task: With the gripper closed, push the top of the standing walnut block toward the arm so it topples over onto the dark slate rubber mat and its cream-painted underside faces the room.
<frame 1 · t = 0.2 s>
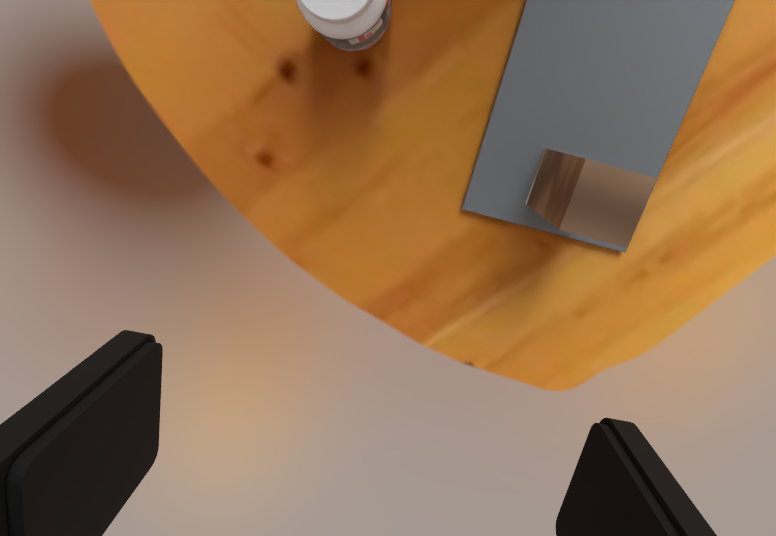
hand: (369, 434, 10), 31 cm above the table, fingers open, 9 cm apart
block: (562, 183, 38), point 1 cm above the table, touching mat
pill bottle: (353, 11, 36), on the table
mat: (593, 92, 37), on the table
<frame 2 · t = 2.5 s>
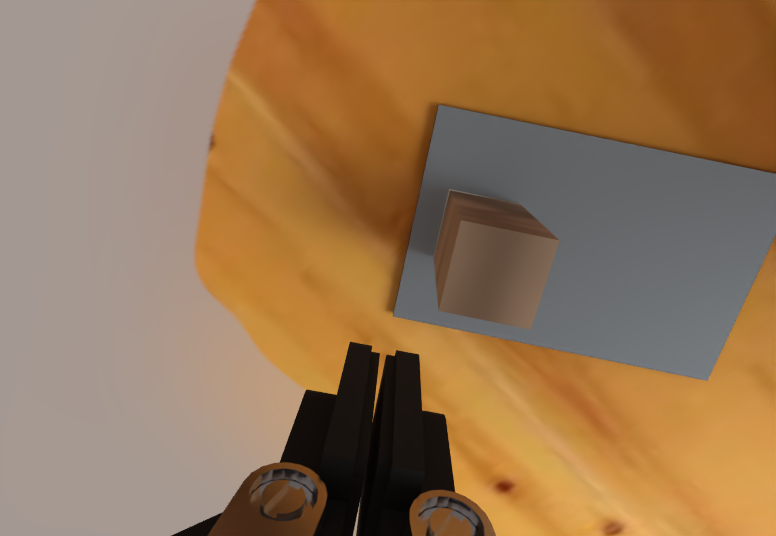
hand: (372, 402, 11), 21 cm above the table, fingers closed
block: (475, 230, 31), point 1 cm above the table, touching mat
mat: (579, 250, 31), on the table
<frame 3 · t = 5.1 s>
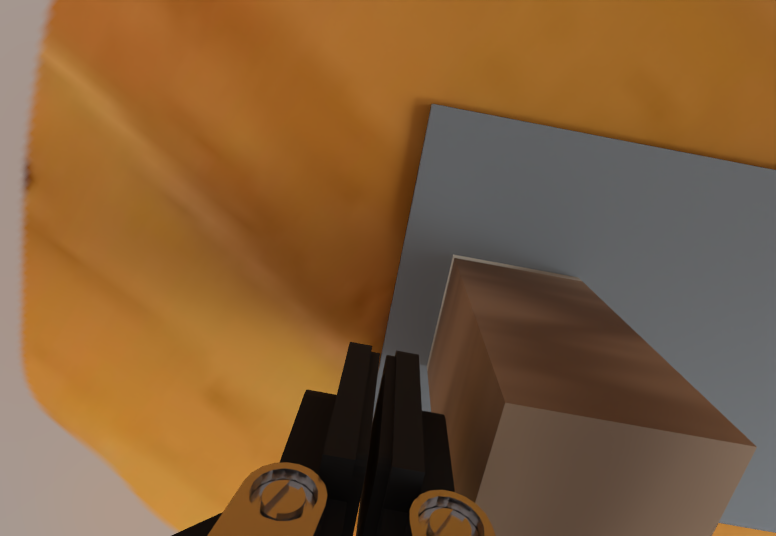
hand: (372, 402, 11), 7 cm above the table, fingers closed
block: (499, 323, 18), point 1 cm above the table, touching gripper, mat
mat: (676, 349, 18), on the table
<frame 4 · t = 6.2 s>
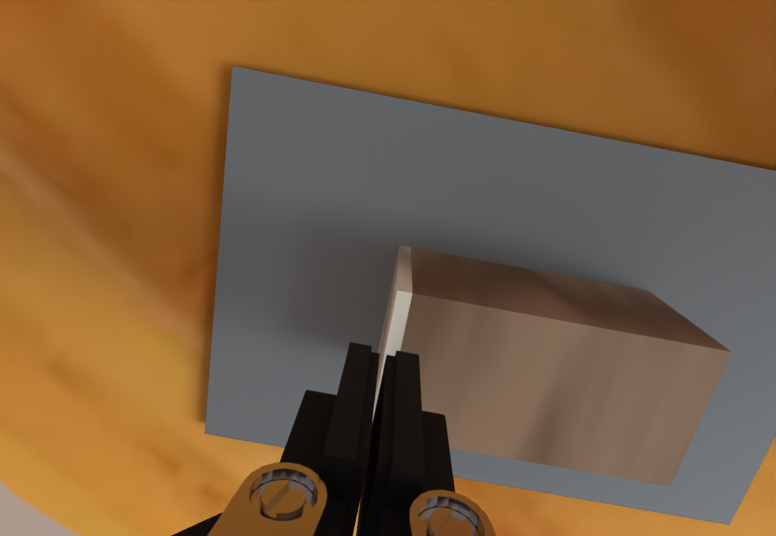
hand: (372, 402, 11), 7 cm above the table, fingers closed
block: (385, 330, 15), point 3 cm above the table, tilted 90°, touching mat
mat: (511, 320, 18), on the table
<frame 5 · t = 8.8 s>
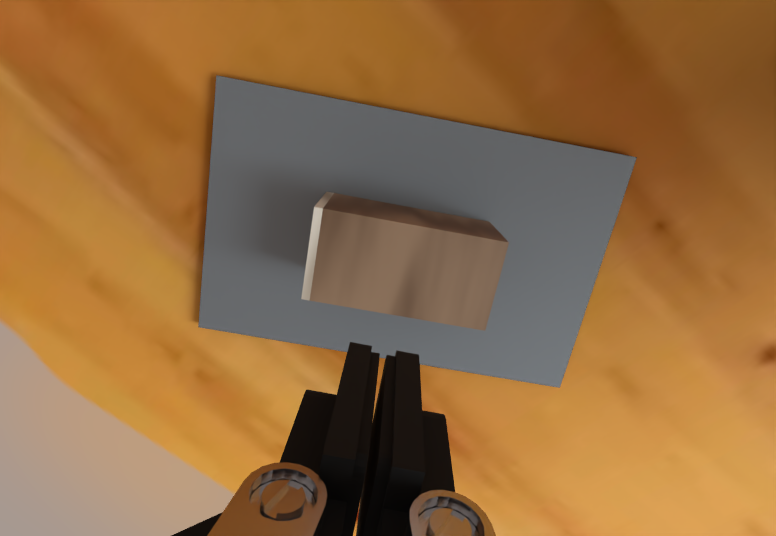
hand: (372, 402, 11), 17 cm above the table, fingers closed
block: (314, 242, 24), point 3 cm above the table, tilted 90°, touching mat
mat: (404, 244, 27), on the table
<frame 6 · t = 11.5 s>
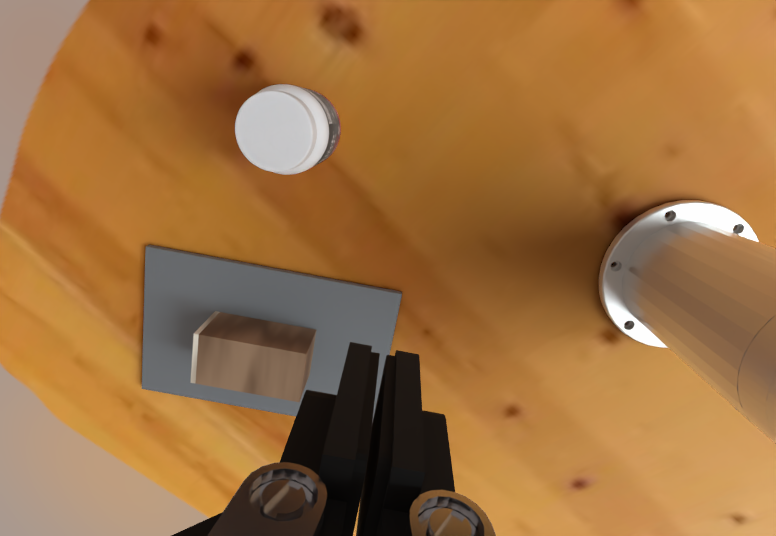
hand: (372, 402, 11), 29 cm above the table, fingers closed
block: (203, 345, 41), point 3 cm above the table, tilted 90°, touching mat
pill bottle: (306, 127, 38), on the table
mat: (267, 340, 44), on the table
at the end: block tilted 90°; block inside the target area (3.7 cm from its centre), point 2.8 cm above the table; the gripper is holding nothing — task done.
